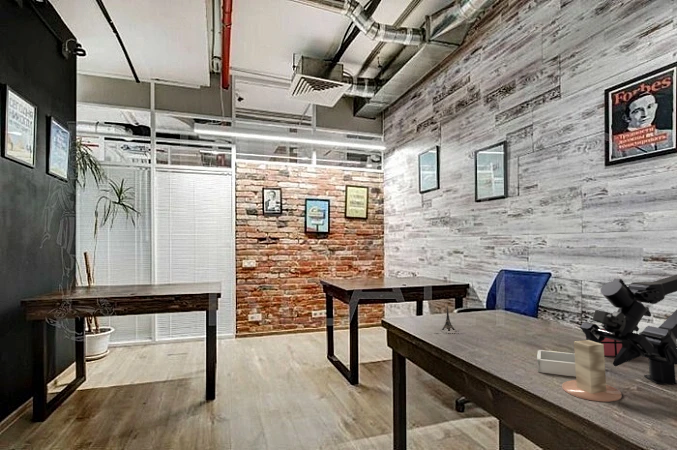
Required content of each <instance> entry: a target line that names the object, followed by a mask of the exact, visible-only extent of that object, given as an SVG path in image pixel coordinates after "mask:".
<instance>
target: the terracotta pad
mask: <svg viewBox="0 0 677 450" xmlns="http://www.w3.org/2000/svg"><path fill="white" fill-rule="evenodd" d="M561 387H562V389H563V391H565V393H568V394H569V395H570V396H572V397H573V396H574V397H577V398H579V399H584V400H588V401H593V402H599V403H601V402H604V403H605V402H606V403H607V402H609V403H610V402H617V401H620V400H621V399H622V398H623V397H622V392H621V391H620V390H619V389H618V388H615V387H613V386H611V385H609V384H606V391H607V392H600V393H593V394H591V393H589V392H587V391H584V390H582V389H580V388H578V387H577V385H576V379H573V380H567V381H564V382H563V383H562V385H561Z"/></svg>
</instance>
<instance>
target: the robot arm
mask: <svg viewBox="0 0 677 450" xmlns="http://www.w3.org/2000/svg"><path fill="white" fill-rule="evenodd" d="M675 292H677V274H675V275H671V276H668V277H665V278H661V279H657V280H654V281H637V282H634V281H633V282H631V283H629V284H628V285H626V283H625V282H624V280H623V279H621V278H614V279H612V281H609V282H606V283H605V284H604V285H602V286H601V288H600V293H601V295H603V297H605V299H606V300H607V301H608V302H609V303H610V304H611V305H612V306H613V307H614V308H618V310H617V311H616V310H615V311H613V312H608V311H603V310H600V309H599V310H598V309H595V310H594V313H593V316H592V321H593V322H589V321H584V322H582V324H581V325H580V327H579V329H580V330H582V332H583V334H585V340H590V341H594V342H597V343H601V342H600V341H603V340H604V339H605V338H609V339H613V340H616V341H620V342H622V348H621V349H620V351H619V353H618V354H617V356H615V358H614V359H613V362H612V365H613V367H619V366H620V365H623V364H625V363H627V362H629V361H631V360H633V359H636V358H639V357H643V358H647V359H648V371H649V372H648V373H649V374H644V375H643V377H645V378H647V379H648V380H650V381H652V382H653V383H655V384H658V385H677V379H676V369H675V368H676V367H675V366H677V309H675V310H674V312H672V314H671V315H669V316H668V317H667V318H666V319H665V321H664V322H662V323H661V324H660V325H659V326H652V325H647V326H645V328H644V329H643V331H641V332H639V330H640V328H639V326H638V325H639V323H640V322H641V320H642V319H643V318H644V316H645V317H651V316H652V312H651V311H650V307H649V306H645V305H644V304H650V305H656V304H658V303H660V302H661V301H663V300H664V299H665V298H666V296H667V295H670V294H673V293H675ZM594 322H596V323H602V324H601V326H602V327H603V328H605V331H604V330H601V329H600V328H599V327H598V326H597V325H596V324H593V323H594ZM635 332H638V333H635ZM601 344H602V343H601Z"/></svg>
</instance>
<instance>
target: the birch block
mask: <svg viewBox="0 0 677 450" xmlns="http://www.w3.org/2000/svg"><path fill="white" fill-rule="evenodd" d="M573 348H574V352H573V353H575V368H576V377H575V380H576V385H577V387H578V388H580V389H582V390H584V391H587V392H589V393H591V394H593V393H600V392H607V391H606V385H607V378H606V363H605V360H606V359H605V356H604V344H601V343H597V342H594V341H590V340H586V339H584V340H576V341H573Z"/></svg>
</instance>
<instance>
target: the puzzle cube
mask: <svg viewBox="0 0 677 450" xmlns="http://www.w3.org/2000/svg"><path fill="white" fill-rule="evenodd" d="M592 323H593V324H596V325H597V326H598V327H599V328H600V329H601V330H604V331H605V328H603V327H602V326H601V324H602V323H599V322H592ZM600 342H601V343H602V344H604V357H616V356H617V354H618V353H619V351H620V349H621V348H622V342H620V341H616V340H613V339H609V338H605V339H604V340H603V341H600Z"/></svg>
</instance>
